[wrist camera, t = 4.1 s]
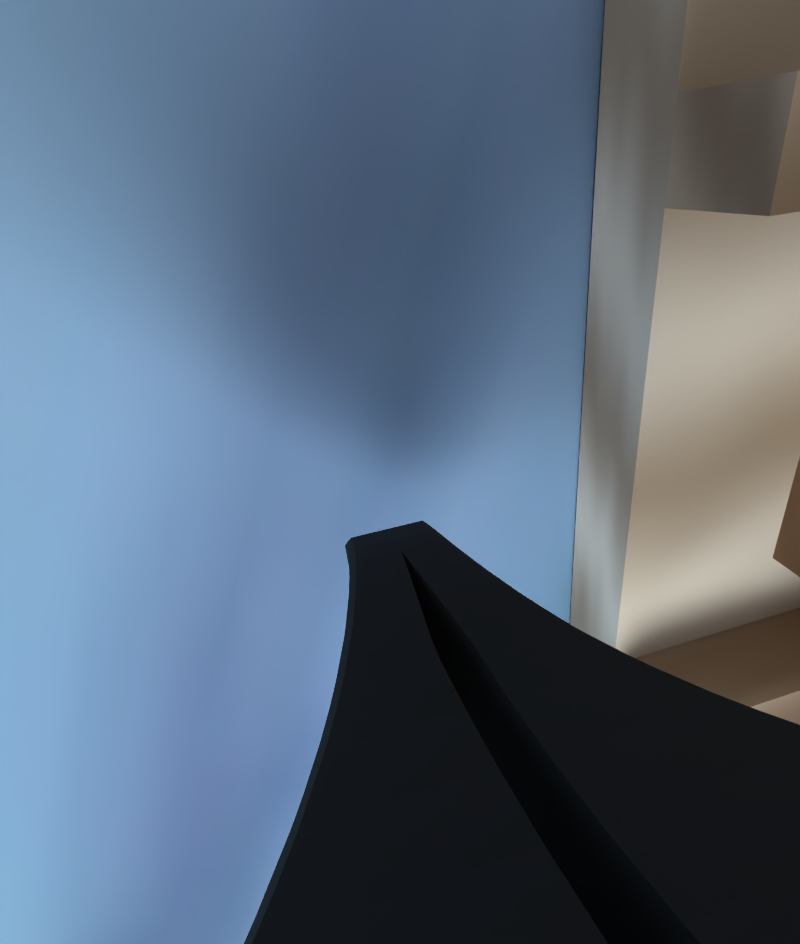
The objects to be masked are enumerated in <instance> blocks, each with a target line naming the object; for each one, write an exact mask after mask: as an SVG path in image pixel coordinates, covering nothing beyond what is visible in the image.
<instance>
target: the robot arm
mask: <svg viewBox="0 0 800 944" xmlns="http://www.w3.org/2000/svg"><path fill="white" fill-rule="evenodd" d="M345 547H346V553H347V558H348V563H349V573H350V579H349V600H348V610H347V620H346V629H345V636H344V642H343V647H342V652H341V658H340V663H339V669H338V674H337V679H336V684H335V688H334V692H333V697H332V701H331V705H330V709H329V713H328V716H327V720H326V724H325V727H324V731H323V734H322V738H321V742H320V745H319V748H318V751H317V754H316V758H315V761H314V764H313V767H312V770H311V773H310V776H309V779H308V782H307V785H306V788H305V792H304V795H303V797H302V800H301V803H300V806H299V809H298V812H297V814H296V817H295V820H294V823H293V825H292V828H291V831H290V833H289V836H288V838H287V841H286V843H285V846H284V848H283V851H282V853H281V856H280V858H279V861H278V863H277V865H276V868H275V870H274V873H273V875H272V878H271V880H270V883H269V885H268V888H267V890H266V893H265V895H264V898H263V900H262V903H261V905H260V908H259V910H258V913H257V915H256V917H255V920H254V922H253V924H252V927H251V929H250V931H249V933H248V936H247V938H246V940H245V943H244V944H800V725H799V724H796V723H793V722H790V721H788V720H785V719H782V718H779V717H776V716H773V715H771V714H768V713H765V712H762V711H759V710H757V709H754V708H751V707H749V706H746V705H744V704H741V703H739V702H736V701H733V700H731V699H728V698H726V697H723V696H720V695H718V694H715V693H713V692H710V691H708V690H706V689H704V688H701V687H699V686H697V685H694V684H692V683H690V682H687V681H685V680H683V679H680V678H678V677H676V676H673V675H671V674H669V673H666V672H664V671H662V670H659V669H657V668H655V667H653V666H651V665H649V664H646V663H644V662H642V661H640V660H638V659H636V658H634V657H631V656H629V655H627V654H625V653H623V652H622V651H620V650H618V649H616V648H614V647H612V646H610V645H608V644H606V643H604V642H602V641H600V640H598V639H596V638H594V637H592V636H591V635H589V634H587V633H585V632H583V631H581V630H579V629H578V628H576V627H574V626H572V625H570V624H569V623H567V622H565V621H564V620H562V619H560V618H559V617H557V616H555V615H554V614H552V613H551V612H549V611H547V610H546V609H544V608H542V607H541V606H539V605H538V604H536V603H534V602H533V601H531V600H530V599H528V598H527V597H525V596H524V595H522V594H521V593H519V592H518V591H516V590H515V589H513V588H512V587H511V586H509V585H508V584H506V583H505V582H503V581H502V580H501V579H499V578H498V577H496V576H495V575H493V574H492V573H491V572H489V571H488V570H486V569H485V568H484V567H482V566H481V565H480V564H478V563H477V562H476V561H474V560H473V559H472V558H470V557H469V556H468V555H466V554H465V553H464V552H462V551H461V550H460V549H459V548H457V547H456V546H455V545H453V544H452V543H451V542H450V541H448V540H447V539H446V538H445V537H443V536H442V535H441V534H440V533H438V532H437V531H436V530H435V529H433V528H432V527H431V526H430V525H428V524H427V523H425V522H424V521H419V522H415V523H411V524H407V525H403V526H398V527H394V528H390V529H386V530H382V531H378V532H373V533H369V534H365V535H361V536H357V537H353V538H351V539H350V540H349V541H348V542H347V544H346V545H345Z"/></svg>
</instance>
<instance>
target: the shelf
mask: <svg viewBox="0 0 800 944" xmlns="http://www.w3.org/2000/svg"><path fill="white" fill-rule="evenodd" d="M799 457H800V0H605V12H604V30H603V48H602V65H601V83H600V101H599V118H598V136H597V154H596V171H595V189H594V207H593V224H592V242H591V260H590V277H589V295H588V313H587V330H586V348H585V366H584V383H583V401H582V419H581V437H580V454H579V472H578V490H577V507H576V525H575V543H574V560H573V578H572V596H571V613H570V625H572V626H574V627H576V628H578V629H579V630H581V631H583V632H585V633H587V634H589V635H591V636H592V637H594V638H596V639H598V640H600V641H602V642H604V643H606V644H608V645H610V646H612V647H614V648H616V649H618V650H620V651H622V652H623V653H625V654H627V655H629V656H631V657H634V658H636V659H638V660H640V661H642V662H644V663H646V664H649V665H651V666H653V667H655V668H657V669H659V670H662V671H664V672H666V673H669V674H671V675H673V676H676V677H678V678H680V679H683V680H685V681H687V682H690V683H692V684H694V685H697V686H699V687H701V688H704V689H706V690H708V691H710V692H713V693H715V694H718V695H720V696H723V697H726V698H728V699H731V700H733V701H736V702H739V703H741V704H744V705H746V706H749V707H751V708H754V709H757V710H759V711H762V712H765V713H768V714H771V715H773V716H776V717H779V718H782V719H785V720H788V721H790V722H793V723H796V724H799V725H800V577H799V576H797V575H796V574H795V573H793V572H792V571H790V570H789V569H788V568H786V567H785V566H783V565H782V564H780V563H779V562H778V561H776V560H775V559H773V554H774V550H775V547H776V543H777V539H778V535H779V532H780V528H781V524H782V520H783V517H784V513H785V509H786V506H787V502H788V498H789V494H790V491H791V487H792V483H793V479H794V476H795V472H796V468H797V465H798V461H799Z"/></svg>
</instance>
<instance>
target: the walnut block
mask: <svg viewBox="0 0 800 944" xmlns="http://www.w3.org/2000/svg"><path fill="white" fill-rule="evenodd" d="M773 559H775V560H776V561H778V562H779V563H780V564H782V565H783V566H785V567H786V568H788V569H789V570H790V571H792V572H793V573H795V574H796V575H797V576H799V577H800V457H799V461H798V465H797V468H796V472H795V476H794V479H793V483H792V487H791V491H790V494H789V498H788V502H787V506H786V509H785V513H784V517H783V520H782V524H781V528H780V532H779V535H778V539H777V543H776V547H775V550H774V554H773Z"/></svg>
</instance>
